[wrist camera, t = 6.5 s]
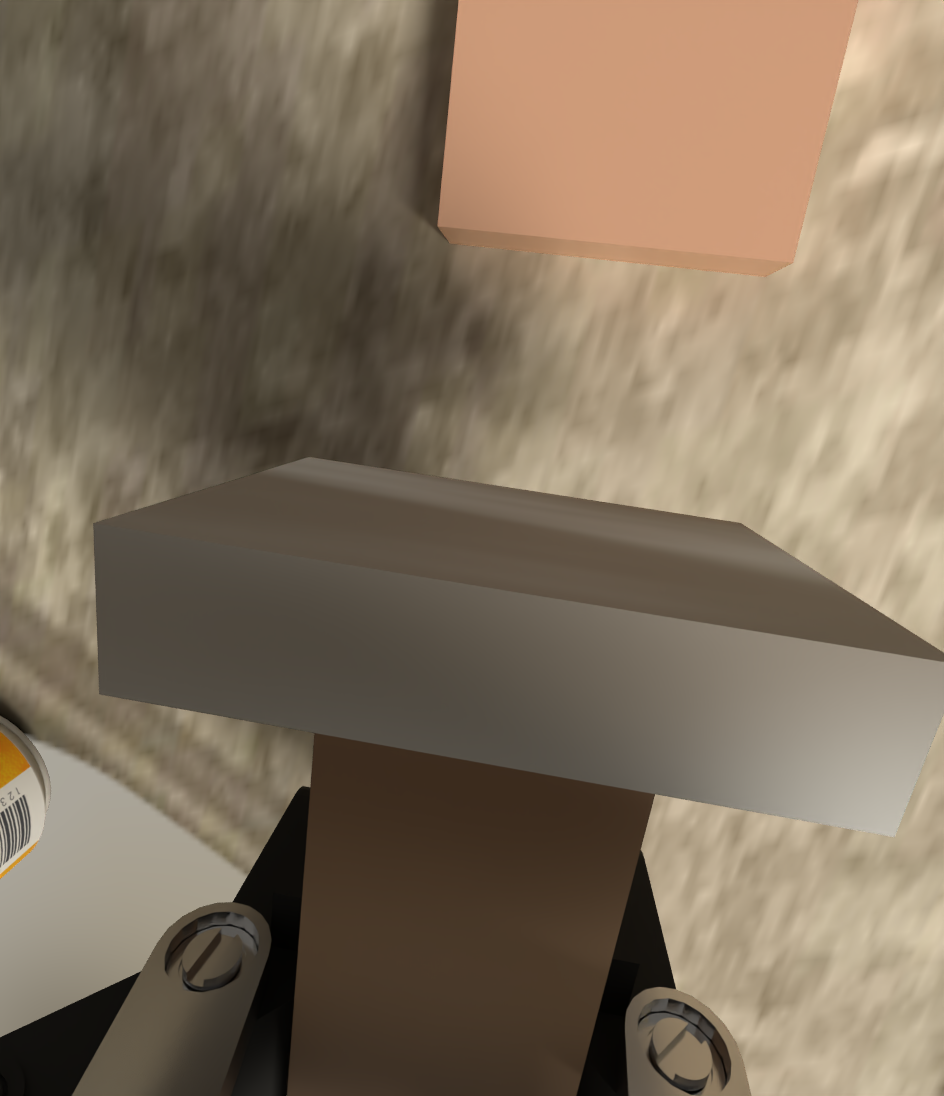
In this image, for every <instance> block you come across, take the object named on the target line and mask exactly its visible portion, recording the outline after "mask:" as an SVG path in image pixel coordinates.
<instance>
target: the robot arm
mask: <svg viewBox="0 0 944 1096" xmlns="http://www.w3.org/2000/svg"><path fill="white" fill-rule="evenodd" d="M309 801H310V787H305V786H302V787H301V788H299V790H298V791H297V793H296V794H295V796H294V797H293V799H292V801H291V802H290V804H289V806H288V808H287V809H286V811H285V813H284V815H283V816H282V818H281V820H280V821H279V823H278V825H277V827H276V828H275V830H274V832H273V833H272V835H271V837H270V839H269V840H268V842H267V844H266V845H265V847H264V849H263V851H262V852H261V854H260V856H259V858H258V859H257V861H256V863H255V864H254V866H253V868H252V870H251V871H250V873H249V875H248V876H247V878H246V880H245V882H244V883H243V885H242V887H241V888H240V890H239V892H238V894H237V895H236V897H235V899H234V901H233V902H228V903H214V904H211V905H207V906H203V907H200V908H198V909H196V910H194V911H192V912H190V913H188V914H186V915H184V916H182V917H181V918H180V919H179V920H178V921H176V922H175V923H174V924H173V925H172V926H170V927H169V928H168V929H167V931H166V932H165V933H164V935H163V936H162V937H161V939H160V940H159V941H158V943H157V945H156V946H155V948H154V950H153V951H152V953H151V955H150V957H149V958H148V960H147V962H146V964H145V966H144V967H143V969H142V971H141V972H139V973H136V974H135V975H132V976H130V977H128V978H126V979H124V980H122V981H120V982H117V983H115V984H113V985H111V986H109V987H107V988H105V989H102V990H100V991H98V992H96V993H94V994H92V995H90V996H88V997H86V998H83V999H81V1000H79V1001H77V1002H75V1003H73V1004H70V1005H68V1006H66V1007H64V1008H62V1009H60V1010H58V1011H55V1012H54V1013H51V1014H49V1015H47V1016H45V1017H43V1018H41V1019H39V1020H37V1021H34V1022H32V1023H30V1024H28V1025H26V1026H23V1027H22V1028H19V1029H17V1030H15V1031H13V1032H11V1033H9V1034H7V1035H4V1036H2V1037H0V1096H287V1089H288V1076H289V1063H290V1050H291V1037H292V1024H293V1011H294V997H295V984H296V971H297V958H298V945H299V932H300V919H301V906H302V892H303V879H304V866H305V853H306V840H307V827H308V814H309ZM576 1096H751V1092H750V1088H749V1083H748V1079H747V1075H746V1071H745V1066H744V1062H743V1059H742V1056H741V1054H740V1051H739V1048H738V1046H737V1043H736V1041H735V1040H734V1038H733V1036H732V1035H731V1033H730V1032H729V1030H728V1029H727V1027H726V1026H725V1024H724V1023H723V1022H722V1021H721V1020H720V1019H719V1018H718V1017H717V1016H716V1015H715V1014H714V1013H713V1011H712V1010H711V1009H710V1008H708V1007H707V1006H705V1005H704V1004H703V1003H701V1002H700V1001H698V1000H697V999H695V998H694V997H693V996H690V995H688V994H686V993H683V992H681V991H678V990H676V987H675V983H674V979H673V974H672V970H671V966H670V962H669V958H668V954H667V950H666V946H665V942H664V937H663V933H662V929H661V925H660V921H659V917H658V913H657V909H656V905H655V901H654V896H653V892H652V888H651V884H650V880H649V876H648V872H647V868H646V864H645V859H644V856H643V853H642V851H641V850H640V854H639V857H638V861H637V865H636V869H635V873H634V877H633V880H632V884H631V888H630V892H629V896H628V900H627V903H626V907H625V911H624V915H623V919H622V923H621V926H620V930H619V934H618V938H617V942H616V946H615V949H614V953H613V957H612V961H611V965H610V968H609V972H608V976H607V980H606V984H605V988H604V991H603V995H602V999H601V1003H600V1007H599V1011H598V1014H597V1018H596V1022H595V1026H594V1030H593V1034H592V1037H591V1041H590V1045H589V1049H588V1053H587V1057H586V1060H585V1064H584V1068H583V1072H582V1076H581V1080H580V1083H579V1087H578V1091H577V1095H576Z"/></svg>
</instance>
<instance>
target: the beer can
mask: <svg viewBox="0 0 944 1096" xmlns="http://www.w3.org/2000/svg"><path fill="white" fill-rule="evenodd" d="M50 797H51V785H50V779H49V775H48V771H47V768H46V766H45V763H44V761H43V759H42V757H41V755H40V754H39V752H38V751H37V749H36V748H35V746H34V745H33V743H32V742H31V741H30V740H29V739H28V738H27V736H26V735H25V734H24V733H23V732H22V731H21V730H19V729H18V728H17V727H16V726H15V725H13V724H12V723H11V722H10V721H8V720H7V719H5V718H3V717H2V716H0V879H1V878H2V877H3V876H4V875H5V874H6V873H7V872H8V871H10V870H11V869H12V868H13V867H14V866H15V865H16V864H17V863H19V862H20V861H21V860H22V859H23V858H24V857H25V856H26V855H27V854H28V853H30V852H31V850H32V849H33V848H34V847H35V846H36V844H37V842H38V841H39V839H40V837H41V835H42V832H43V828H44V824H45V815H46V812H47V809H48V807H49V803H50Z"/></svg>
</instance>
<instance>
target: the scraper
mask: <svg viewBox="0 0 944 1096" xmlns="http://www.w3.org/2000/svg"><path fill="white" fill-rule="evenodd" d="M93 526H94V555H95V584H96V612H97V641H98V670H99V694H101V695H106V696H112V697H117V698H123V699H129V700H134V701H140V702H145V703H151V704H156V705H162V706H168V707H173V708H179V709H184V710H190V711H195V712H201V713H206V714H212V715H218V716H223V717H229V718H234V719H240V720H245V721H251V722H257V723H262V724H268V725H273V726H279V727H284V728H290V729H295V730H301V731H307V732H312V733H315V735H314V748H313V761H312V774H311V787H310V801H309V814H308V827H307V840H306V853H305V866H304V879H303V892H302V906H301V919H300V932H299V945H298V958H297V971H296V984H295V997H294V1011H293V1024H292V1037H291V1050H290V1063H289V1076H288V1089H287V1096H576V1095H577V1091H578V1087H579V1083H580V1080H581V1076H582V1072H583V1068H584V1064H585V1060H586V1057H587V1053H588V1049H589V1045H590V1041H591V1037H592V1034H593V1030H594V1026H595V1022H596V1018H597V1014H598V1011H599V1007H600V1003H601V999H602V995H603V991H604V988H605V984H606V980H607V976H608V972H609V968H610V965H611V961H612V957H613V953H614V949H615V946H616V942H617V938H618V934H619V930H620V926H621V923H622V919H623V915H624V911H625V907H626V903H627V900H628V896H629V892H630V888H631V884H632V880H633V877H634V873H635V869H636V865H637V861H638V857H639V854H640V850H641V846H642V842H643V838H644V835H645V831H646V827H647V823H648V819H649V815H650V812H651V808H652V804H653V800H654V796H655V794H657V795H663V796H668V797H674V798H679V799H685V800H690V801H696V802H702V803H707V804H713V805H718V806H724V807H729V808H735V809H740V810H746V811H752V812H757V813H763V814H768V815H774V816H779V817H785V818H791V819H796V820H802V821H807V822H813V823H818V824H824V825H829V826H835V827H841V828H846V829H852V830H857V831H863V832H868V833H874V834H880V835H885V836H891V837H895V835H896V832H897V830H898V827H899V825H900V822H901V820H902V817H903V815H904V812H905V810H906V807H907V805H908V802H909V800H910V797H911V795H912V792H913V790H914V787H915V785H916V782H917V780H918V777H919V775H920V772H921V769H922V767H923V764H924V762H925V759H926V757H927V754H928V752H929V749H930V747H931V744H932V742H933V739H934V737H935V734H936V732H937V729H938V727H939V724H940V722H941V719H942V717H943V714H944V653H943V652H942V651H940V650H939V649H937V648H935V647H934V646H932V645H931V644H929V643H928V642H926V641H924V640H923V639H921V638H920V637H918V636H917V635H915V634H913V633H912V632H910V631H909V630H907V629H906V628H904V627H903V626H901V625H899V624H898V623H896V622H895V621H893V620H892V619H890V618H888V617H887V616H885V615H884V614H882V613H881V612H879V611H878V610H876V609H874V608H873V607H871V606H870V605H868V604H867V603H865V602H863V601H862V600H860V599H859V598H857V597H856V596H854V595H852V594H851V593H849V592H848V591H846V590H845V589H843V588H842V587H840V586H838V585H837V584H835V583H834V582H832V581H831V580H829V579H827V578H826V577H824V576H823V575H821V574H820V573H818V572H816V571H815V570H813V569H812V568H810V567H809V566H807V565H806V564H804V563H802V562H801V561H799V560H798V559H796V558H795V557H793V556H791V555H790V554H788V553H787V552H785V551H784V550H782V549H780V548H779V547H777V546H776V545H774V544H773V543H771V542H770V541H768V540H766V539H765V538H763V537H762V536H760V535H759V534H757V533H755V532H754V531H752V530H751V529H749V528H748V527H746V526H744V525H743V524H741V523H736V522H730V521H723V520H717V519H710V518H704V517H697V516H691V515H684V514H678V513H671V512H665V511H658V510H651V509H645V508H638V507H632V506H625V505H619V504H612V503H606V502H599V501H593V500H586V499H580V498H573V497H567V496H560V495H554V494H547V493H541V492H534V491H528V490H521V489H515V488H508V487H502V486H495V485H489V484H482V483H476V482H469V481H463V480H456V479H450V478H443V477H437V476H430V475H424V474H417V473H411V472H404V471H398V470H391V469H385V468H378V467H372V466H365V465H359V464H352V463H345V462H339V461H332V460H326V459H319V458H313V457H307V458H304V459H301V460H297V461H294V462H291V463H288V464H284V465H281V466H278V467H275V468H271V469H268V470H265V471H262V472H258V473H255V474H252V475H249V476H245V477H242V478H239V479H236V480H232V481H229V482H226V483H223V484H219V485H216V486H213V487H210V488H206V489H203V490H200V491H197V492H193V493H190V494H187V495H184V496H180V497H177V498H174V499H171V500H167V501H164V502H161V503H158V504H154V505H151V506H148V507H145V508H141V509H138V510H135V511H131V512H128V513H125V514H122V515H118V516H115V517H112V518H109V519H105V520H102V521H99V522H96V523H93Z"/></svg>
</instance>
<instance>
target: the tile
mask: <svg viewBox="0 0 944 1096" xmlns="http://www.w3.org/2000/svg"><path fill="white" fill-rule="evenodd" d="M857 3H858V0H459V2H458V13H457V24H456V34H455V45H454V56H453V66H452V77H451V88H450V98H449V109H448V120H447V130H446V141H445V152H444V162H443V173H442V183H441V194H440V205H439V215H438V228H439V229H440V230H441V232H442V233H443V235H444V236H445V237H446V239H447V240H448V241H449V243H450V244H460V245H469V246H479V247H488V248H497V249H507V250H516V251H526V252H535V253H545V254H554V255H564V256H573V257H583V258H592V259H602V260H611V261H621V262H630V263H640V264H649V265H658V266H668V267H677V268H687V269H696V270H706V271H715V272H725V273H734V274H744V275H753V276H763V277H766V276H768V275H770V274H772V273H774V272H776V271H778V270H780V269H782V268H784V267H786V266H788V265H790V264H792V263H793V261H794V257H795V253H796V249H797V245H798V241H799V237H800V233H801V229H802V225H803V221H804V217H805V213H806V209H807V205H808V201H809V197H810V193H811V189H812V185H813V181H814V177H815V172H816V168H817V164H818V160H819V156H820V152H821V148H822V144H823V140H824V136H825V132H826V128H827V124H828V120H829V116H830V112H831V108H832V104H833V100H834V96H835V92H836V88H837V84H838V80H839V76H840V72H841V68H842V64H843V60H844V56H845V52H846V48H847V44H848V39H849V35H850V31H851V27H852V23H853V19H854V15H855V11H856V7H857Z"/></svg>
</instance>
